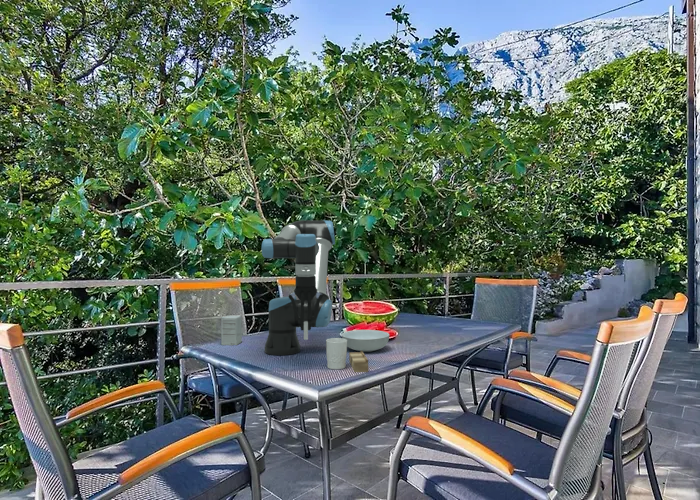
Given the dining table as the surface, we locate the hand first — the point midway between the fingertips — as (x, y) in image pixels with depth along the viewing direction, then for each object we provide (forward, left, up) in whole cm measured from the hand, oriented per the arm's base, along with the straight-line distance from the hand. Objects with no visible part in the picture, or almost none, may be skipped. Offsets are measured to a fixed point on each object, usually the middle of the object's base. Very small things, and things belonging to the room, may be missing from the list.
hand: (305, 338), depth 159 cm
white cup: (+2, +11, -11) cm, 16 cm away
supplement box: (-44, -34, -11) cm, 56 cm away
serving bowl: (-26, +26, -11) cm, 38 cm away
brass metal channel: (+2, +19, -10) cm, 22 cm away
